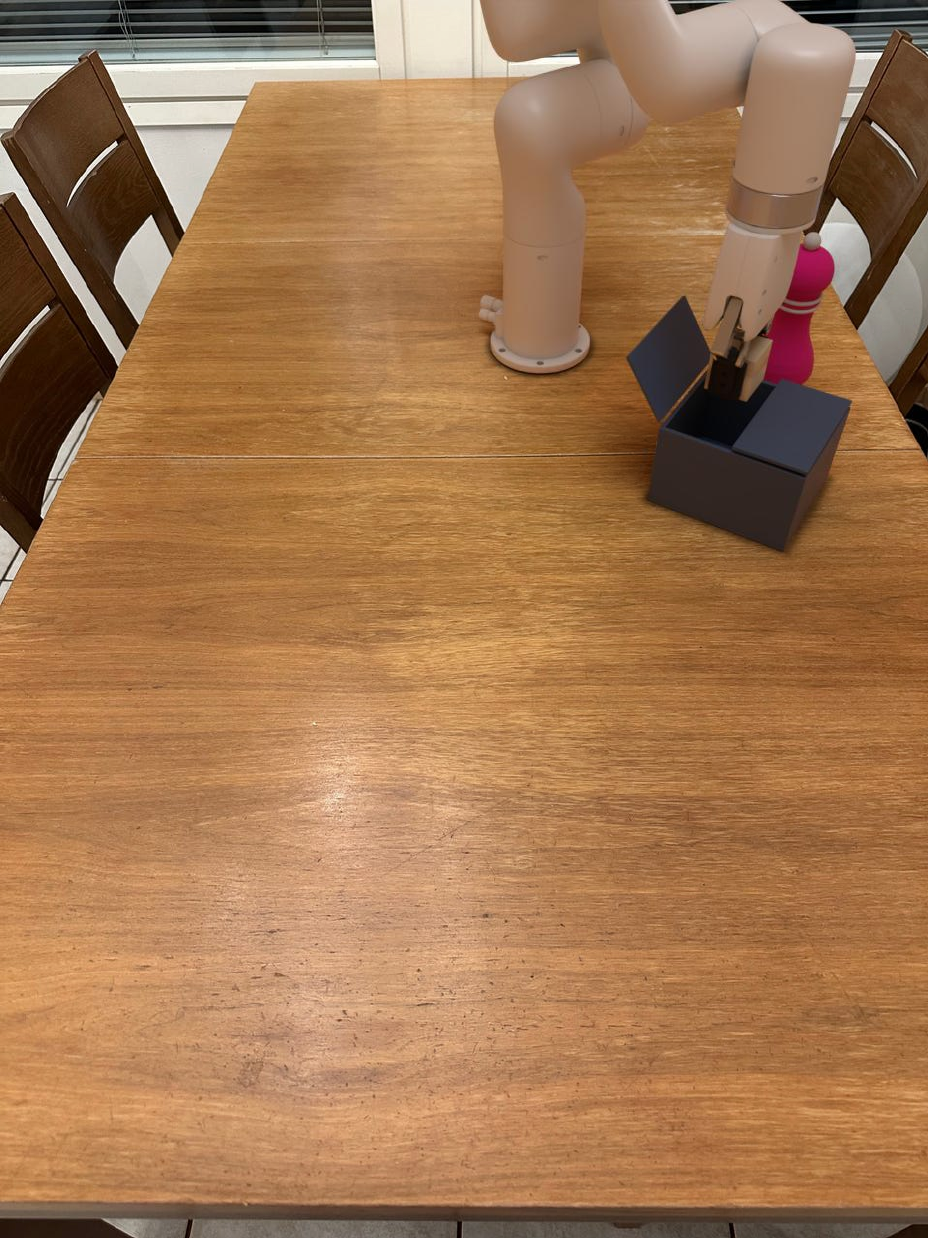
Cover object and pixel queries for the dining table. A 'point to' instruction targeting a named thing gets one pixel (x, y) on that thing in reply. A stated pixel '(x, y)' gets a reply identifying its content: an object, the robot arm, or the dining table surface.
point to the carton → (748, 457)
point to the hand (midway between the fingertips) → (734, 380)
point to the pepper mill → (799, 314)
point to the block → (750, 364)
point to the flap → (669, 358)
